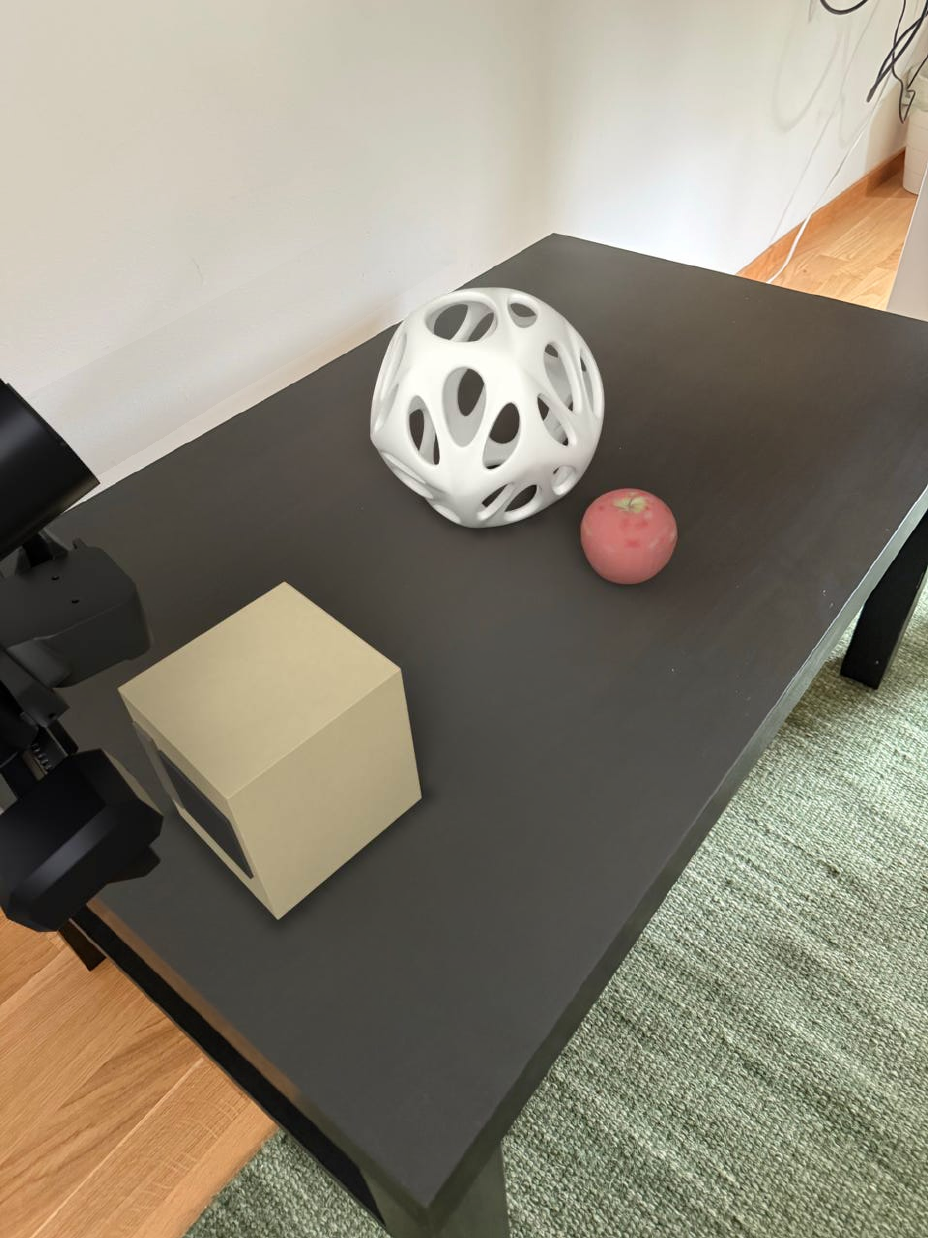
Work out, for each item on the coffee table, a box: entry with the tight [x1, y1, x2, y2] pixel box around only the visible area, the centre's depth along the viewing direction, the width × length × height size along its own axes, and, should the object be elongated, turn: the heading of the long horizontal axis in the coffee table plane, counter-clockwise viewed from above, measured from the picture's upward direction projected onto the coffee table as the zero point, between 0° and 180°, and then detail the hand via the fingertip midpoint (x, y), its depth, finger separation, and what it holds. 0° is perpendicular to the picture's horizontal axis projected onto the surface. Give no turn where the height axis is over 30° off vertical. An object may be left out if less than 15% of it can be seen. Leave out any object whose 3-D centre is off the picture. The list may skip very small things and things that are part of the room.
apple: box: [579, 488, 678, 585], centre depth 73 cm, size 7×7×8 cm
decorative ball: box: [369, 286, 606, 529], centre depth 79 cm, size 20×20×17 cm
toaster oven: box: [117, 581, 423, 921], centre depth 57 cm, size 12×11×13 cm
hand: (109, 807), depth 47 cm, fingers open, 9 cm apart
